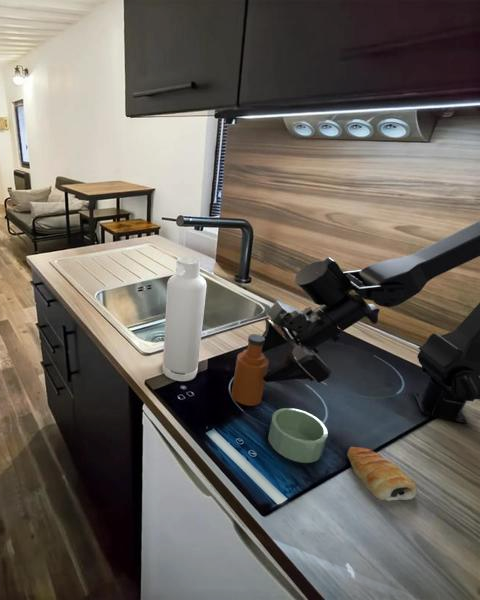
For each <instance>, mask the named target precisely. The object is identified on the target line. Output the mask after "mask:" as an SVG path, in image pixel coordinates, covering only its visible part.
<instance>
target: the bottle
mask: <svg viewBox="0 0 480 600" xmlns="http://www.w3.org/2000/svg"><path fill="white" fill-rule="evenodd" d="M194 261H197V262H194ZM201 262H202V260H201V258H199V257H196V256H191V255H190V256H189V255H187V256H186V255H184V256H179V257H177V258H176V268H175V273H174V274H172V276H170V277H169V278H168V280H167V284H166V300H165V301H166V302H165V320H164V336H163V338H164V339H163V353H162V361H163V362H162V373H163V374H164V376H165V377H167V378H169V379H171V380H173V381H178V382H189V381H192V380H193V379H195V378H196V377H197V374H198V371H199V361H200V353H201V343H202V334H203V324H204V315H205V314H204V313H205V306H206V305H205V304H206V295H207V287H208V283H207V281H206V279H205V277H203V276H202V275H201V274H200V273H201Z"/></svg>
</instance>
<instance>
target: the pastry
mask: <svg viewBox="0 0 480 600" xmlns="http://www.w3.org/2000/svg"><path fill="white" fill-rule="evenodd" d="M346 456H347V458H348V460H349V462H350V465H351V467H352V469H353V473H354V475H356V476H357V478H359V480H360V481H361V482H362V484H363V485H364V486H365V487H366V489H367V490H368V491H369V492H370V493H371V494H372V495H373V497H374V498H376V499H377V500H380V501H384V500H385V501H389V502H390V501H397V500H398V501H399V500H404V501H405V500H406V501H409V500H412V499H414V498H415V497H416V496H417V493H418V488H417V485H416V483H415V482H413V481H412V480H411V479H410V477H409V476H408V475H407V474H406V473H405V472H404V471H403V470H402V469H400V467H399V466H398V465H397V464H396V463H393V462H392V461H390V460H388V459H386V458H384V457H383V456H382V455H381V454H380V453H378V452H375V451H373V450H371V449H370V448H367V447H361V446H360V447H359V446H358V447H356V446H350V447H349V448H348V451H347V453H346Z"/></svg>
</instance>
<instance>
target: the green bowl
mask: <svg viewBox="0 0 480 600" xmlns="http://www.w3.org/2000/svg"><path fill="white" fill-rule="evenodd" d="M268 428H269V429H268V434H267V440H268V442H269V445H270V446H271V447H272V449H274V451H276V452H277V453H278V454H280V455H281V456H283V457H284V458H285V459H288V460H290V461H293V462H297V463H303V464H308V463H309V464H310V463H315V462H317V461H319V459H320V458H321V457H322V455H323V452H324V449H325V446H326V444H327V440H328V438H329V433H328V428H327V427H326V426H325V424H324V422H323V421H322V420H320V418H318V417H316V416H315V415H314V414H312V413H309V412H307V411H305V410H302V409H298V408H293V407H284V408H279V409H277V410H275V412H273V413H272V415H271V420H270V423H269V427H268Z"/></svg>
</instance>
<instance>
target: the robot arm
mask: <svg viewBox="0 0 480 600" xmlns="http://www.w3.org/2000/svg"><path fill="white" fill-rule="evenodd" d="M477 258H480V220H478V221H476V222H475V223H473V224H470V225H469V226H467V227H464V228H462V229H460V230H458V231H457V232H455V233H452V234H451V235H448V236H446V237H444V238H442V239H440V240H438V241H436V242H434V243H432V244H430V245H428V246H426V247H424V248H422V249H419V250H418V251H416V252H414V253H412V254H409V255H406V256H401V257H396V258H395V257H394V258H389V259H385V260H381V261H379V262H377V263H373V264H371V265H368V266H366V267H364V268H363V269H357V270H349V271H343V270H342V269H341V268H340V266H339V264H338V263H337V262H336V261H335V260H334V259H332V258H331V257H327V258H325V259H324V260H323V261H321V260H320V261H315V262H312V263H310V264H307V265H304V266H303V267H302V268H301V269H300V270H298V272H296V274H295V276H294V279H293V280H294V284H296V286H298V287H299V289H301V291H302V292H303V293H304V294H305V295H306V296H307V297H308V298H309V299H310V300H311V302H313V303H314V304H315V305H318V307H316V308H315V309H312V307H306V308H304V309H303V310H300V309H298V308H296V307H294V306H292V305H289V304H287V303H285V302H284V301H280V300H279V299H278V300H276V301H275V302H274V303H273V305H271V308H269V310H268V312H267V313H266V314H265V315H266V317H267V318H265V319H264V320H265V330H264V331H263V333H262V334H261V336H263V337H264V338H265V341H264V344H263V347H262V353H265V352H267V351H269V350H272V349H275V348H277V347H280V346H282V345H285V344H287V343H290V344H291V345H292V346H293V350H292V352H291V353H290V352H289V351H287V352H286V356H285V358H284V360H283V361H282V362H281V363H280V364H278V365H277V366H276V367H274V368H273V369H271V370H270V371H268V372H267V374H266V375H265V376H264V377H263V380H264V381H265V383H271V382H283V381H292V380H309V381H310V382H313V381H316V382H317V383H318V384H320V383H322V382H324V381H326V380H327V379H329V378H330V375H331V374H332V373H331V371H332V370H331V369H330V368H329V367H328V366H327V364H326V363H325V361H324V360H323V359H322V358H321V357H320V356H319V355H318V353H320V351H319V349H318V347H320V346H322V345H323V344H324V343H325V344H326V342H327V341H329V340H332V341H333V342H334V343H337V342H338V341H339V340H341V338H340V337H339V336H338V335H339V334H340V333H342V332H344V331H346V330H347V329H349V328H350V327H352V326H353V325H355V324H356V323H359V322H360V321H362V320H363V319H365V318H366V319H367V320H368V321H369V322H371V323H372V324H374V325H376V324H377V323H378V321H379V313H380V308H379V307H378V306H380V307H384V308H394V307H397V306H400V305H401V304H403V303H405V302H407V301H408V300H410V299H411V298H413V297H415V296H416V295H418V294H419V293H420V292H421V291H422V290H423V288H424V287H425V286H426V285H427V283H428V282H430V281H431V280H433V279H435V278H437V277H438V276H441V275H443V274H445V273H447V272H449V271H452V270H453V269H456V268H458V267H460V266H462V265H465V264H466V263H468V262H471V261H473V260H475V259H477ZM351 291H353V292H354V293H350V292H351ZM366 300H367V301H371V302H373V303H374V304H373V303H367V301H366ZM376 305H377V306H376ZM418 350H419V352H418V353H417V357H416V358H417V360H418V363H419V364H420V365H421V371H422V372H424V373H425V374H426V375H428V376H429V377H430V378H429V381H428V383H427V385H426V387H425V390H424V391H423V393H422V394H421V393H414V399H415V402H416V404H417V406H418V408H419V411H420V413H421V415H424V416H427V417H431V418H436V419H441V420H444V421H449V422H452V423H458V424H461V425H467V424H468V421H467V418H466V416H465V415H464V412H463V409H464V407H465V405H466V404H467V401H468V402H475V400H480V302H478V304H477V305H476V306H475V307H474V308H473V309H472V310H471V312H470V313H469V314H468V315H467V316H466V317H465V318H464V319H463V321H462V322H461V323H460V324H459V325H457V327H456V328H455V329H454V330H452V331H450V332H447V333H444V334H441V335H440V334H438V333H436V332H434V333H432V334H430V335H429V336H428V338H427V340H426V341H425V343H423V344H422V345H421V346H419V347H418Z"/></svg>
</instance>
